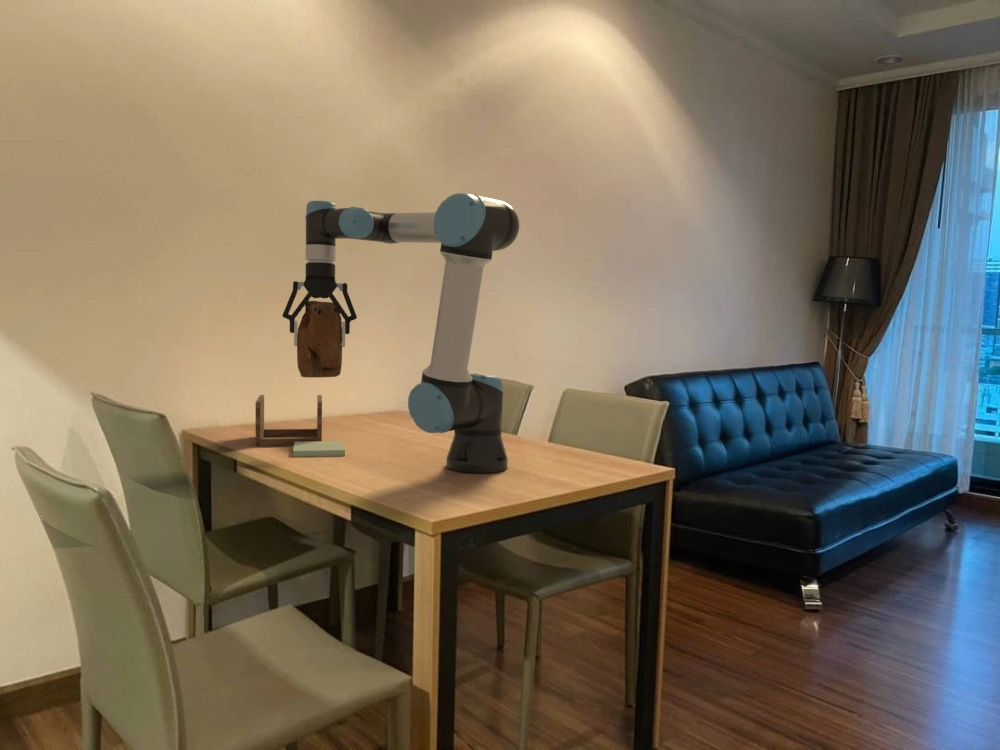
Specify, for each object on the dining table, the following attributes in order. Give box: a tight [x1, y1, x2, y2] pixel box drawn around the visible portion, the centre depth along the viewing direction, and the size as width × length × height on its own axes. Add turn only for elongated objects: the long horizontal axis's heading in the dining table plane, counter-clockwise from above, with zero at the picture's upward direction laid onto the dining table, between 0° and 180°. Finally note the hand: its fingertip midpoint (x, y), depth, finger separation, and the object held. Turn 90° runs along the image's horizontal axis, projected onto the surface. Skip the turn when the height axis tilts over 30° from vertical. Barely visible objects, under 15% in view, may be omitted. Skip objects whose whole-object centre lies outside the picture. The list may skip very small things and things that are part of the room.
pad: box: [292, 440, 346, 458], centre depth 206 cm, size 13×13×2 cm
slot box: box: [255, 394, 323, 448], centre depth 219 cm, size 16×17×12 cm
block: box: [296, 300, 343, 379], centre depth 203 cm, size 11×8×20 cm
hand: (319, 346), depth 203 cm, fingers closed on block, 11 cm apart
